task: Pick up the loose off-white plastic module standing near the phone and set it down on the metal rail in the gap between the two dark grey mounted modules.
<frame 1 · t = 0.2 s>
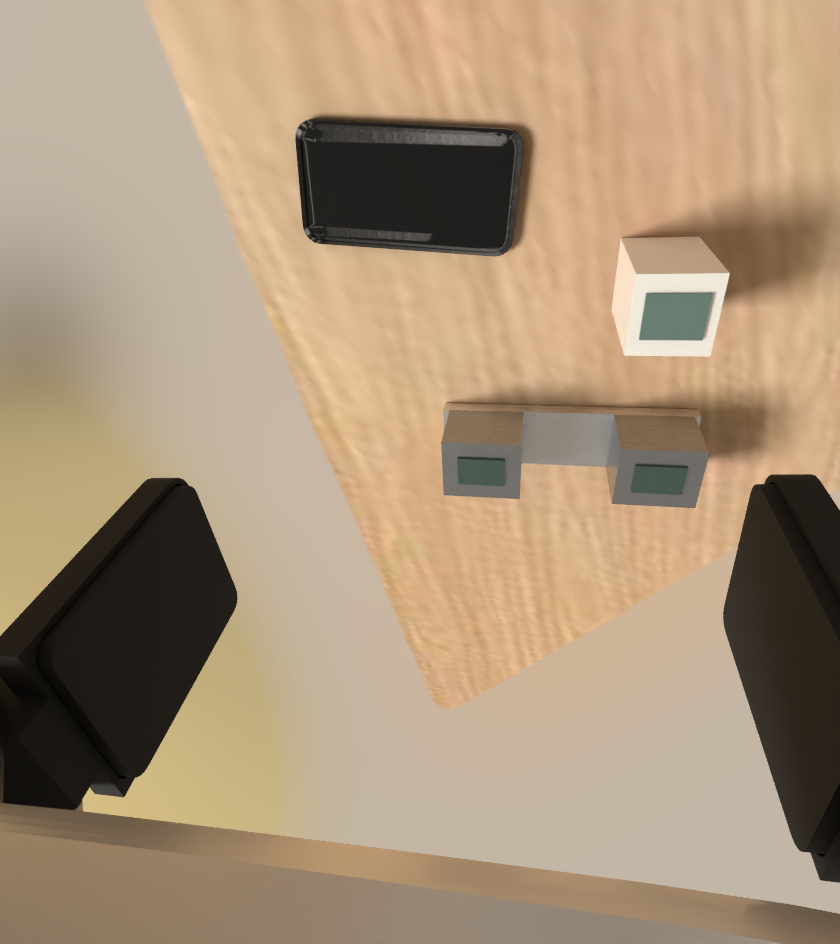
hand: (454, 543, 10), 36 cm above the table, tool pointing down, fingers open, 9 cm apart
rail: (565, 432, 50), on the table
module: (653, 274, 41), on the table
phone: (409, 187, 41), on the table
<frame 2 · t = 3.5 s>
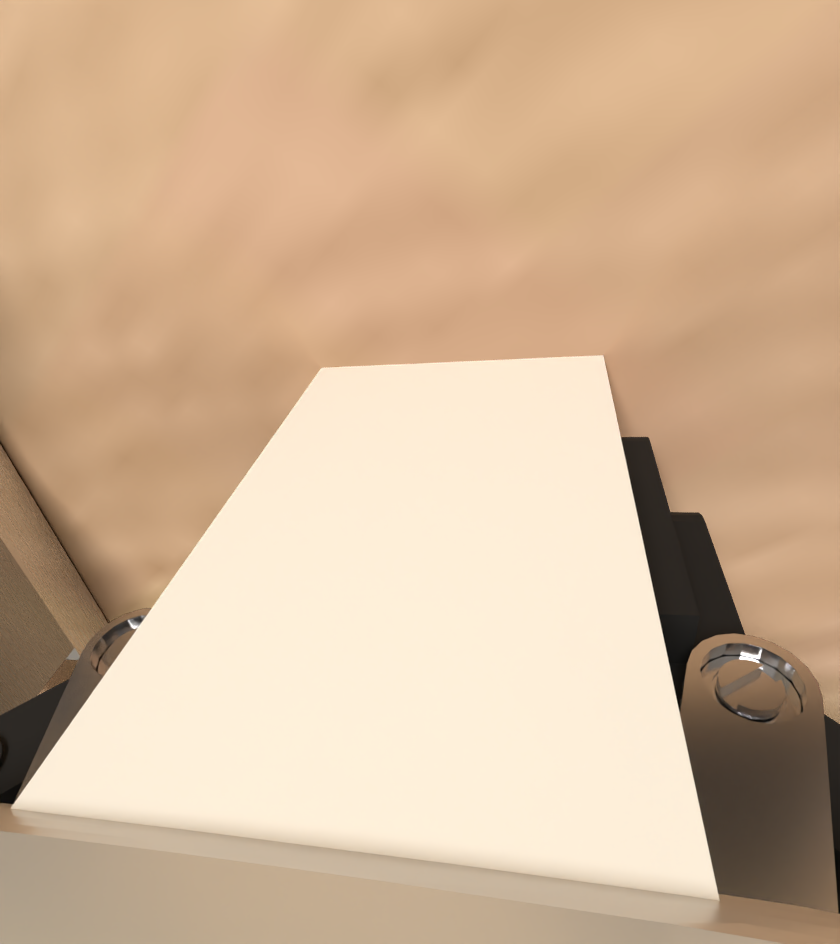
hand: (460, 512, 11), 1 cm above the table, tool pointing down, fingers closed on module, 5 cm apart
module: (466, 477, 12), on the table, touching gripper
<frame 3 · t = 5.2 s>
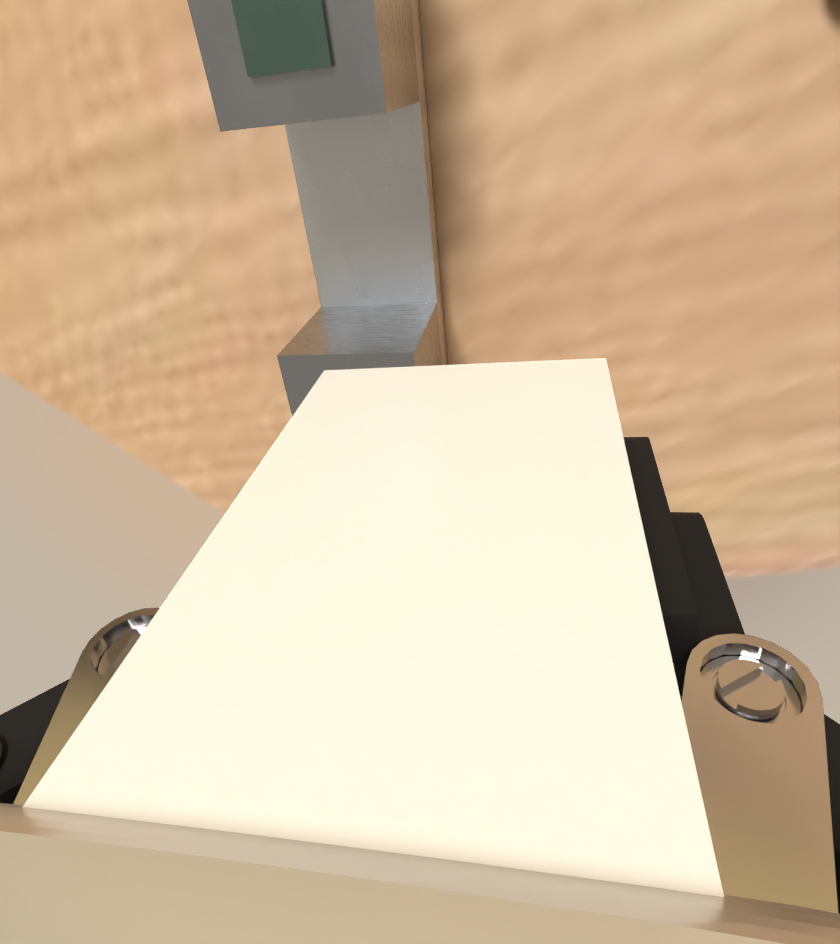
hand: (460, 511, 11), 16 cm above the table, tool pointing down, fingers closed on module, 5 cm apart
rail: (372, 209, 24), on the table
module: (468, 480, 12), point 15 cm above the table, touching gripper
when the fingers open (4 cm above the table, at t = 7.3 s): module drops 2 cm, resting on rail.
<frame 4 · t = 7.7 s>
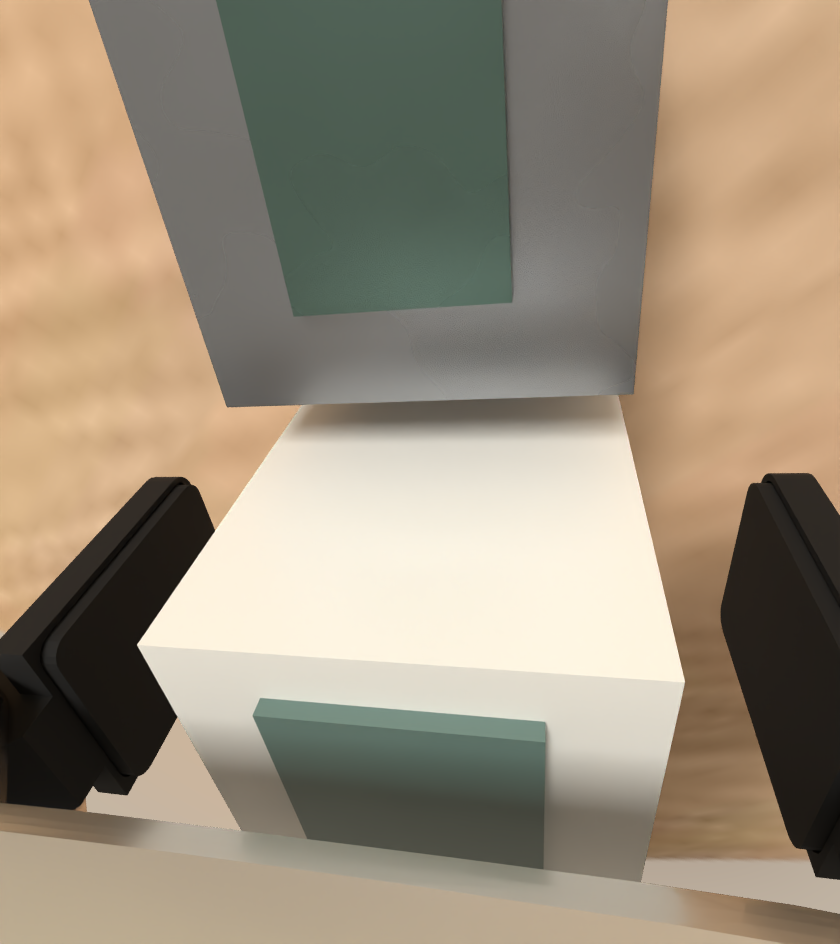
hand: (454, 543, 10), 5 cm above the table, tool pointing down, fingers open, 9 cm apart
rail: (478, 410, 14), on the table
module: (477, 437, 13), point 1 cm above the table, touching rail
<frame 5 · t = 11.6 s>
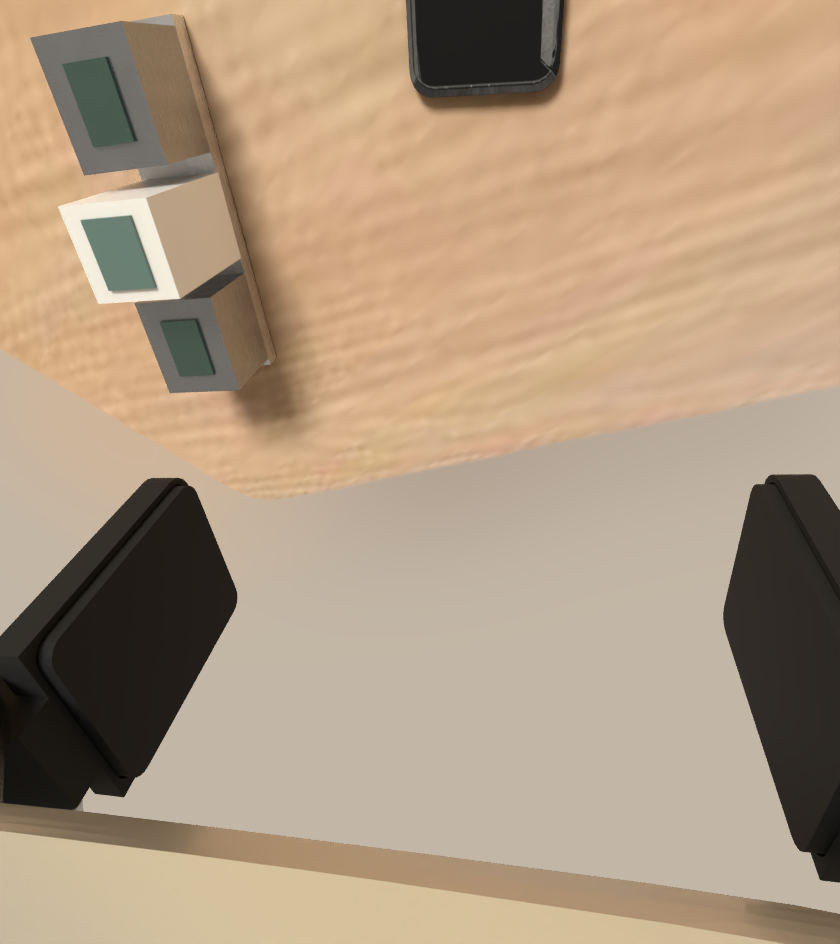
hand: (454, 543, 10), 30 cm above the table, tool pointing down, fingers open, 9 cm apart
rail: (200, 215, 38), on the table
module: (193, 220, 37), point 1 cm above the table, touching rail
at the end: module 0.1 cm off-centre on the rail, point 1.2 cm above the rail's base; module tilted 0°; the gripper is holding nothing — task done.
